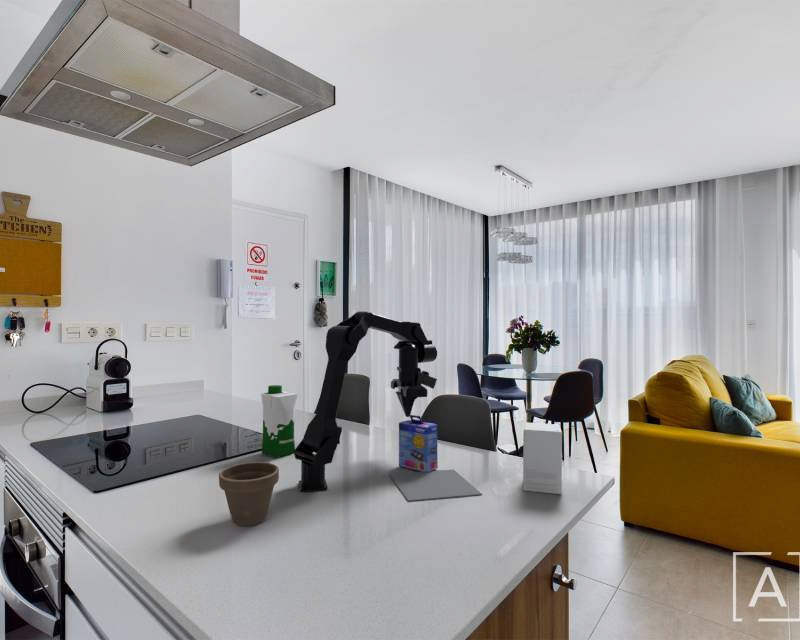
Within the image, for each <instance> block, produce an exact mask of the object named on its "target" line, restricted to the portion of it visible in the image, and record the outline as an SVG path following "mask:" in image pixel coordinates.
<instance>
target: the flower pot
mask: <svg viewBox="0 0 800 640" xmlns="http://www.w3.org/2000/svg"><path fill="white" fill-rule="evenodd" d="M279 474H280V469H279V467H278V465H276V464H275V463H270V462H264V461H254V462H252V461H251V462H243V463H238V464H235V465H231V466H227V467H226V468H224V469H222V470H221V471H220V472H219V473H218V484H219V488H220V489H221V490H223V491H224V494H225V495H224V496H225V498H226V503H227V507H228V511H229V514H230V517H231V520H232V522H233V524H235V525H237V526H239V527H240V526H241V527H251V526H255V525H258V524H261V523H262V522H264V521H265V520H266V518H267V517H268V512H269V509H270V505H271V501H272V495H273V492H274V487H275V485H276V484H277V483H278V482H279V480H280V479H279V478H280V475H279Z"/></svg>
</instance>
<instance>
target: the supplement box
mask: <svg viewBox="0 0 800 640" xmlns="http://www.w3.org/2000/svg"><path fill="white" fill-rule="evenodd" d="M522 439H523V444H522V446H523V447H522V449H523V451H522V452H523V454H522V455H523V456H522V457H523V458H522V461H523V462H522V467H523V468H522V471H523V472H522V474H523V476H522V478H523V479H522V481H523V482H522V484H523V485H522V486H523V487H522V488H523V491H524V492H533V493H535V492H536V493H543V494H544V493H545V494H553V495H562V494H563V493H562V491H563V490H562V487H563V485H562V483H563V482H562V481H563V480H562V478H563V469H562V468H563V464H562V463H563V451H562V450H563V431H562V429H561V426H560V424H558V423H557V424H556V423H553V424H552V423H540V422H527V421H525V422H524V425H523V438H522Z"/></svg>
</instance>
